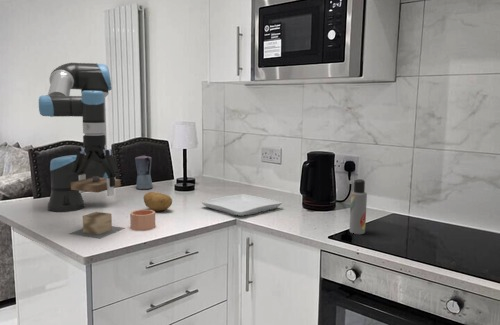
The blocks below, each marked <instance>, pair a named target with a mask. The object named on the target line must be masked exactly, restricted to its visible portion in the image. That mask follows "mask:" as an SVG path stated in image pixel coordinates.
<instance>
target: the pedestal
mask: <svg viewBox="0 0 500 325" xmlns="http://www.w3.org/2000/svg"><path fill="white" fill-rule="evenodd" d="M112 218H113V217H112V213H108V212H103V211H95V212H91V213H88V214H85V215H82V229H83V232H85V233H92V234H98V235H99V234H101V233H104V232H107V231H109V230H112V226H113V222H112Z"/></svg>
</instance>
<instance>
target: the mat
mask: <svg viewBox="0 0 500 325" xmlns="http://www.w3.org/2000/svg"><path fill="white" fill-rule="evenodd" d="M124 229H126V227H122V226H121V227H120V226H114V225H112V230H109V231H107V232H104V233H101V234H99V235H98V234H92V233H85V232H83V228H81V229H78V230H75V231H72V232H69V233H68V235H74V236H79V237H80V236H81V237H86V238H92V239H99V240H101V239H103V238H105V237H108V236H109V235H112V234H115V233H117V232H120V231H122V230H124Z"/></svg>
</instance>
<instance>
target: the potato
mask: <svg viewBox="0 0 500 325" xmlns="http://www.w3.org/2000/svg"><path fill="white" fill-rule="evenodd" d="M143 203H144V204H145V206H146V207H147V208H148V209H149V210H153V211H155V212H159V211H161V212H162V211H166V210H167V209H169V208H170V207H171V206H172V204H173V198H172V197H171V196H170V195H169V194H164V193H162V192H156V191H148V192H146V193H145V194H144V195H143Z"/></svg>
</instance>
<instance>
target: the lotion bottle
mask: <svg viewBox="0 0 500 325" xmlns="http://www.w3.org/2000/svg"><path fill="white" fill-rule="evenodd" d="M353 183H354V184H353V191H351V193H350V207H349V208H350V212H349V232H350V234H353V233H354V234H355V235H363V234H365V233H366V219H367V217H366V216H367V202H368V201H367V200H368V199H367V198H368V197H367V195H368V193H367V192H365V190H366V181H365V180H364V179H360V178H358V179H354V181H353Z"/></svg>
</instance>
